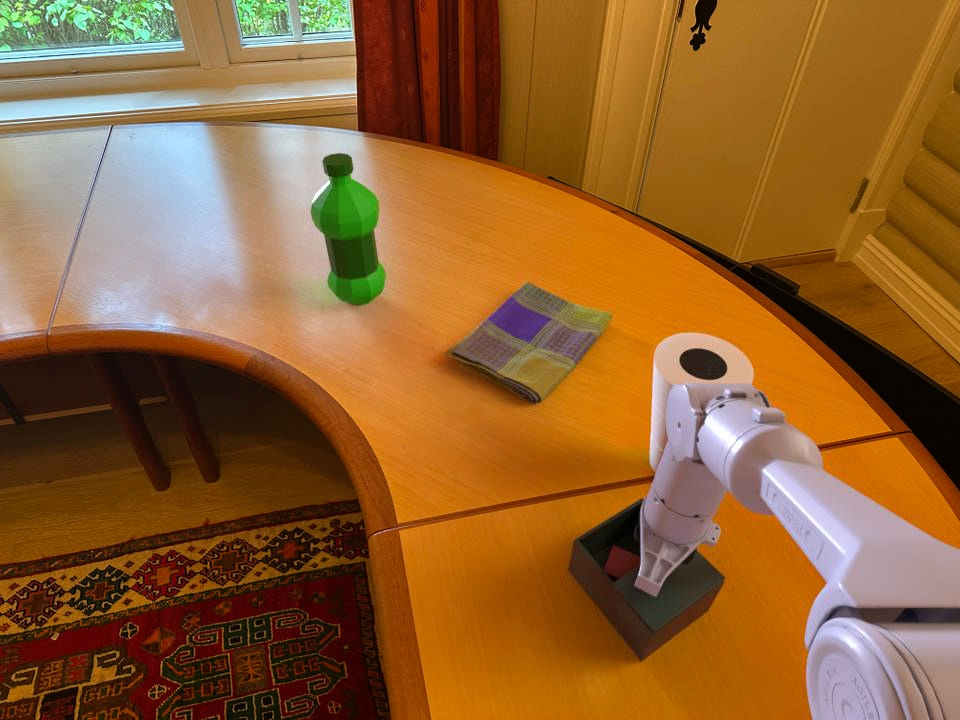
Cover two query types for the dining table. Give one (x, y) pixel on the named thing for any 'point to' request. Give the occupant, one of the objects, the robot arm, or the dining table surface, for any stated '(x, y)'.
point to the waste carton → (598, 585)
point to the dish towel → (531, 342)
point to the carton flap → (670, 591)
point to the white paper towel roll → (690, 375)
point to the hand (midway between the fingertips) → (654, 563)
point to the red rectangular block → (620, 563)
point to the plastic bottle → (349, 232)
